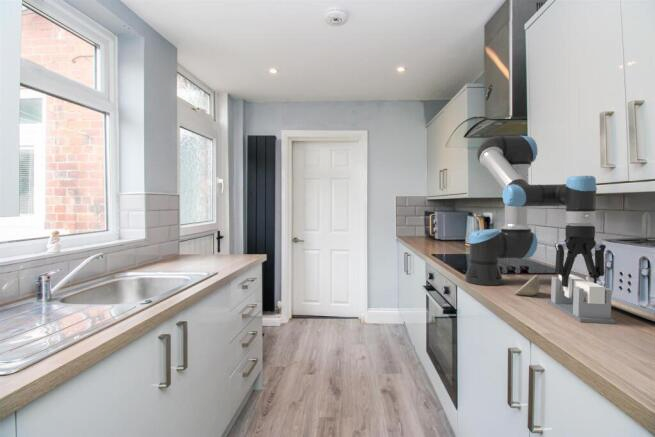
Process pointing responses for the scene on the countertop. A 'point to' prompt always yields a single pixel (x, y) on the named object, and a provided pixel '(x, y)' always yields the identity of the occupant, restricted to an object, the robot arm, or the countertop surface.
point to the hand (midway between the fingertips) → (578, 297)
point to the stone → (529, 287)
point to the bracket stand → (581, 305)
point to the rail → (587, 289)
